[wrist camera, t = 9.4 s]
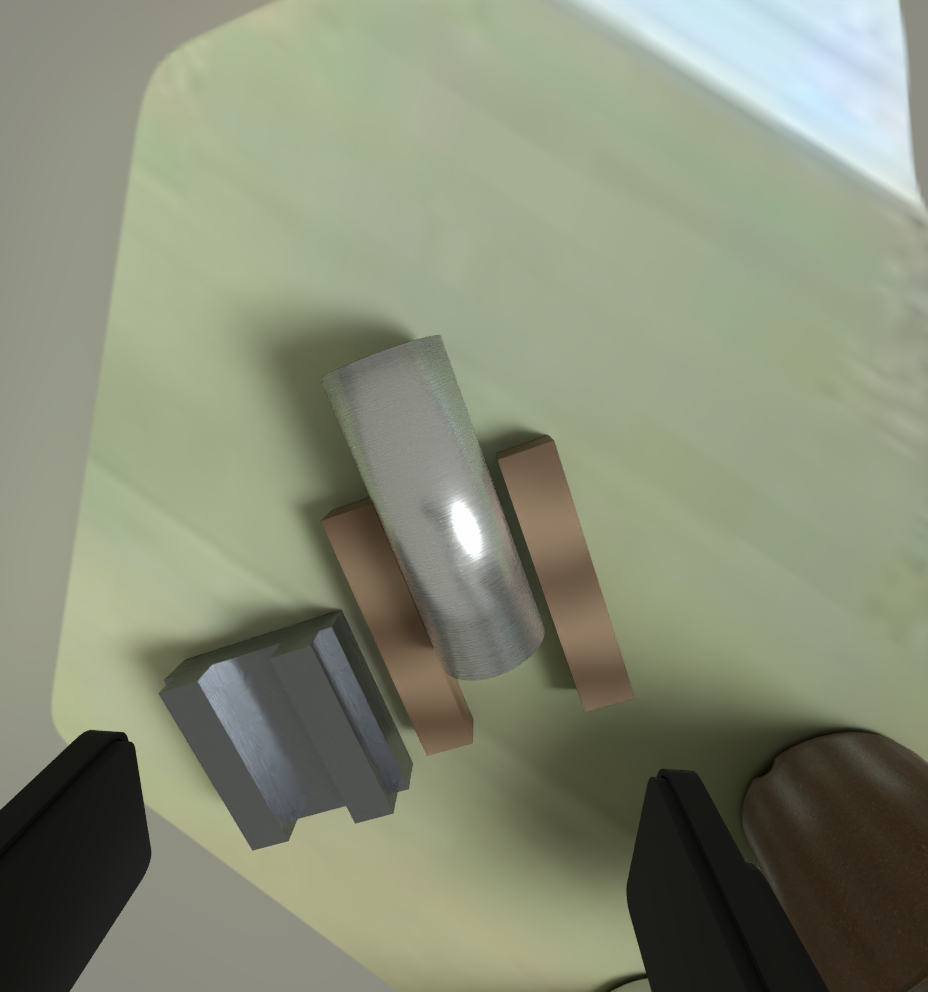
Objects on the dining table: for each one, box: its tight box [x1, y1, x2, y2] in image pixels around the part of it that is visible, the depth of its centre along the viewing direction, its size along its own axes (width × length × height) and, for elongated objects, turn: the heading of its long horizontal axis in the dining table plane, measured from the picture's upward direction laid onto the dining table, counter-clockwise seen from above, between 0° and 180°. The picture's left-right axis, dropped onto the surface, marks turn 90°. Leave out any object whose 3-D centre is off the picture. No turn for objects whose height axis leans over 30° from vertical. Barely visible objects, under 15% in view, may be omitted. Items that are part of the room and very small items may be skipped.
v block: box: [159, 610, 413, 851], centre depth 29 cm, size 12×11×4 cm
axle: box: [320, 335, 545, 680], centre depth 24 cm, size 16×6×6 cm, turn 20°
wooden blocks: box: [321, 435, 635, 756], centre depth 28 cm, size 16×13×2 cm
